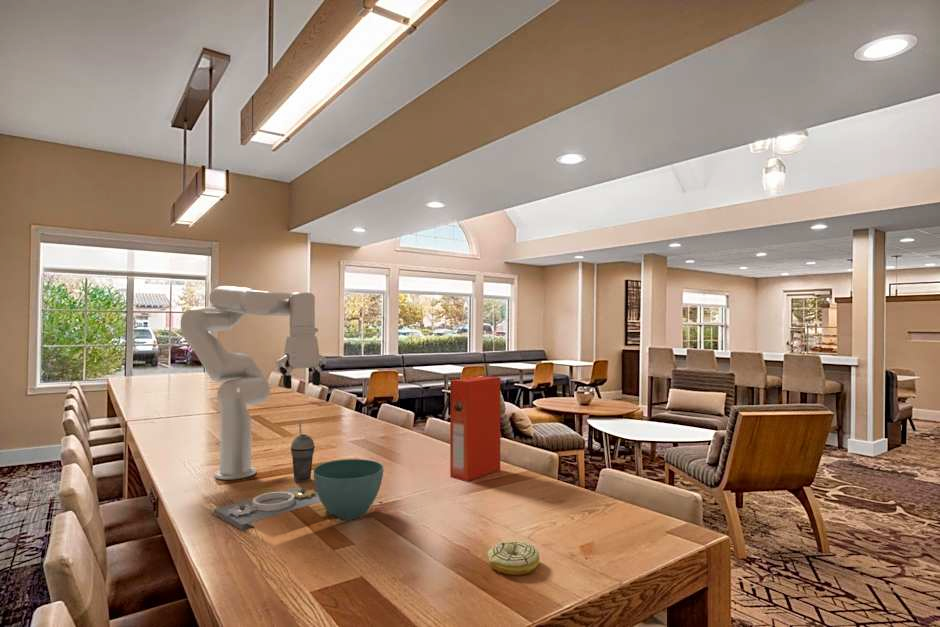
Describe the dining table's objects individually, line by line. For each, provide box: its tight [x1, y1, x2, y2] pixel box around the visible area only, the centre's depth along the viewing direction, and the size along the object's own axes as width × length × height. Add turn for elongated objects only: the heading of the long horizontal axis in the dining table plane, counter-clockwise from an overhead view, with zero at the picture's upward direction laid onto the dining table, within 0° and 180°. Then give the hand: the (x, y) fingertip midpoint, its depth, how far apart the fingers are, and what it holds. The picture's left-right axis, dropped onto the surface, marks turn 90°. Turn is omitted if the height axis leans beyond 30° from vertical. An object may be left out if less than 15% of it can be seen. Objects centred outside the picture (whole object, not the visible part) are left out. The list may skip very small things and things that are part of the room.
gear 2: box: [291, 488, 317, 500], centre depth 149 cm, size 7×7×2 cm
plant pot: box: [313, 458, 384, 521], centre depth 139 cm, size 18×18×12 cm
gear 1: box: [227, 505, 256, 518], centre depth 136 cm, size 7×7×2 cm
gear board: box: [213, 486, 322, 532], centre depth 142 cm, size 16×25×3 cm, turn 139°
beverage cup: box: [290, 420, 316, 483], centre depth 163 cm, size 7×7×20 cm
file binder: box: [449, 375, 501, 482], centre depth 177 cm, size 8×17×32 cm, turn 140°
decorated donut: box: [487, 541, 540, 576], centre depth 111 cm, size 10×11×4 cm
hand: (302, 386), depth 163 cm, fingers open, 9 cm apart
